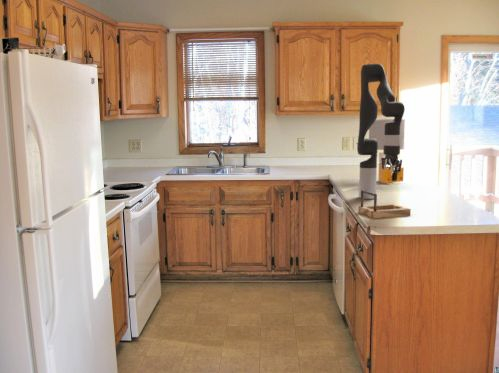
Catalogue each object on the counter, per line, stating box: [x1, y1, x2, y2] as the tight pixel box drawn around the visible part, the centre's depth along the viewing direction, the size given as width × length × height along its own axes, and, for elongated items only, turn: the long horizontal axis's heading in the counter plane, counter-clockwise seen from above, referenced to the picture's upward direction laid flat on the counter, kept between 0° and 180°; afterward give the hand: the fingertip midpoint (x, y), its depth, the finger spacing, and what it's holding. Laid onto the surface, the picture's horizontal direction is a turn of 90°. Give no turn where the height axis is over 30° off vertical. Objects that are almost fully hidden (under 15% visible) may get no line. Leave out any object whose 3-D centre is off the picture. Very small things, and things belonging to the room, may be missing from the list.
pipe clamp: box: [381, 166, 404, 184], centre depth 250 cm, size 12×4×6 cm, turn 125°
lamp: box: [368, 118, 406, 184], centre depth 349 cm, size 23×23×42 cm
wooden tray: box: [358, 190, 412, 219], centre depth 249 cm, size 15×19×11 cm
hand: (390, 179), depth 250 cm, fingers closed on pipe clamp, 5 cm apart
